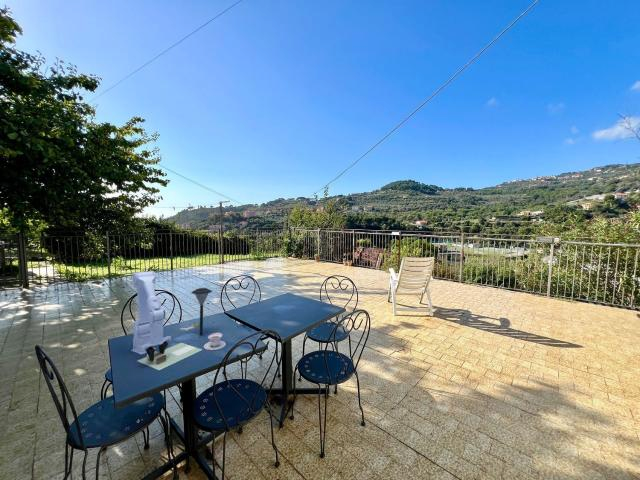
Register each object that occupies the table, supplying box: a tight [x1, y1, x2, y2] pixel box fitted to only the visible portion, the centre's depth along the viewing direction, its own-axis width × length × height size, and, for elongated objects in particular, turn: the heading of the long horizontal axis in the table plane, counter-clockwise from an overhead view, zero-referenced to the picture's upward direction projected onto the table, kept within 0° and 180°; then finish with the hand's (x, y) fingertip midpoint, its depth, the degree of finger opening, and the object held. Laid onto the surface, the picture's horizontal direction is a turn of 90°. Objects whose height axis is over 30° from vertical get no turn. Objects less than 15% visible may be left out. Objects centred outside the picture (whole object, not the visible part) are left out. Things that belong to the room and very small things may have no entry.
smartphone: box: [178, 322, 200, 332], centre depth 182 cm, size 7×1×15 cm
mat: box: [137, 342, 203, 371], centre depth 142 cm, size 18×25×1 cm
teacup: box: [203, 332, 226, 351], centre depth 156 cm, size 12×12×6 cm
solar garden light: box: [191, 287, 213, 337], centre depth 169 cm, size 12×12×30 cm
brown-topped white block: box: [146, 350, 166, 365], centre depth 136 cm, size 9×4×3 cm, turn 64°
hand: (156, 358), depth 136 cm, fingers closed on brown-topped white block, 4 cm apart
